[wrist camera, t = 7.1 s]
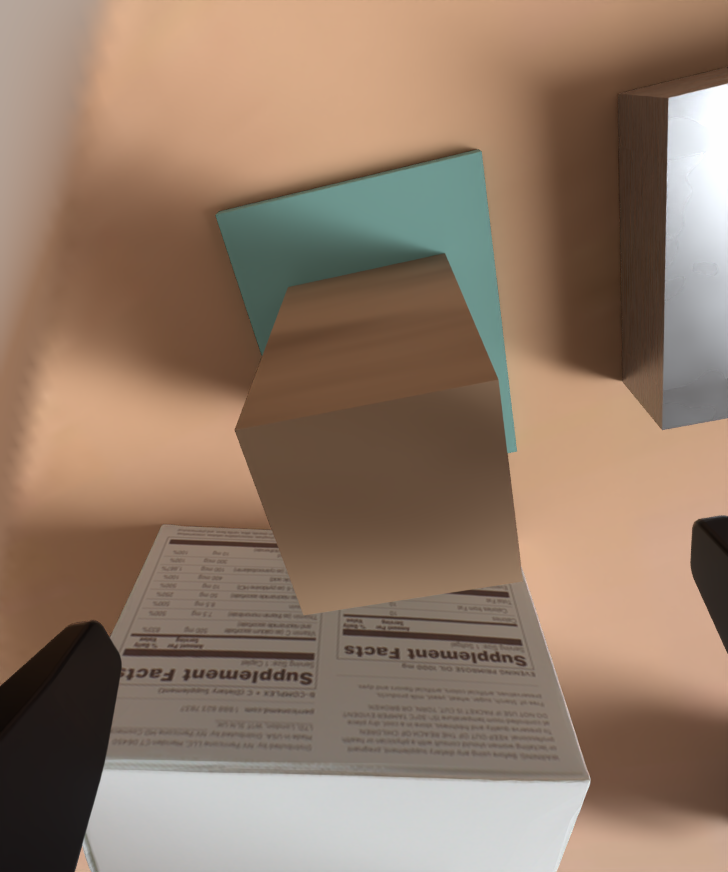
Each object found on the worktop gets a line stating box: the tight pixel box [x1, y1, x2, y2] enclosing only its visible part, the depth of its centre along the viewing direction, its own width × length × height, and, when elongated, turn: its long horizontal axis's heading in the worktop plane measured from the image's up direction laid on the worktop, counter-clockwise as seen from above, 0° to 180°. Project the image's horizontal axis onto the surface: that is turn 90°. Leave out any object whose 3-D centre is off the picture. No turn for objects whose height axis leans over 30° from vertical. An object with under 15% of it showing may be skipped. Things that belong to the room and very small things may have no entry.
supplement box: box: [82, 524, 591, 872], centre depth 23 cm, size 17×13×9 cm
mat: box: [215, 149, 517, 453], centre depth 18 cm, size 9×7×1 cm
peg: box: [235, 253, 523, 615], centre depth 15 cm, size 4×4×8 cm
